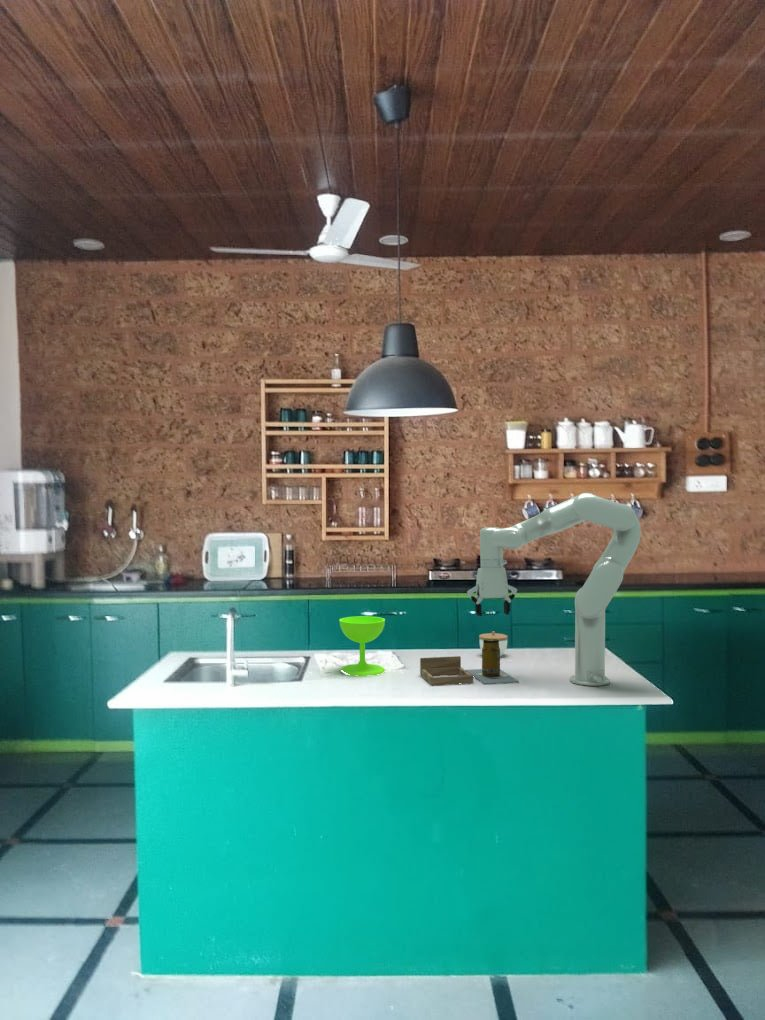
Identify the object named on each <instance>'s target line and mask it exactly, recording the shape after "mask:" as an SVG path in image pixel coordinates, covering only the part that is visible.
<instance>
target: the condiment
mask: <svg viewBox="0 0 765 1020" xmlns="http://www.w3.org/2000/svg"><path fill="white" fill-rule="evenodd" d="M481 654H482V655H481V669H482V673H479V674H478V675H481V676H487V677H491V678H501V677H505V676H509V675H510V674H508V675H506V674H500V669H501V657H500V648H499V640H498V639H484V641H483V648H482V651H481Z"/></svg>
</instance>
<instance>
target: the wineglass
mask: <svg viewBox="0 0 765 1020" xmlns="http://www.w3.org/2000/svg"><path fill="white" fill-rule="evenodd" d="M338 621H339V627H340V629H341V632H342V633H343V635H344V636H345V637H346V638H347V639H349V640H350V641H352V642H355V643H358V644H359V661H358V663H354V664H353V663H352V664H348V665H343V666H342V667H341V668H340V669H341V670H343V671H344V672H346V673H348V674H350V675H358V676H357V677H368V676H367V675H375V676H378V675H377V674H380V675H382V674H381V673H383V672H384V671H385V672H386V669H385V668H384V667H383V666H381V665H379V664H374V663H367V661H366V643H370V642H372V641H374V640H375V639H377V638H378V637H379V636H380V634H382V632H383V631H384V629H385V625H386V624H385V623H386V619H385V618H383V617H379V616H370V615H368V616H365V615H360V616H359V615H358V616H347V617H342V618H339V619H338ZM385 672H384V673H385ZM384 673H383V674H384Z"/></svg>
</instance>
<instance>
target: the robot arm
mask: <svg viewBox="0 0 765 1020" xmlns="http://www.w3.org/2000/svg"><path fill="white" fill-rule="evenodd" d="M585 521H587V522H590V523H593V524H595V525H598V526H602V527H606V528H608V529H612V530H613V533H612V537H611V539H610V541H609V542H608V544H607V545H606V548H605V550H604V552H602V554H601V556H600V557H599V559H598V560H597V561H596V563H595V564H594V566H593V568H592V571H591V572H590V573H589V576H588V577H587V579H586V580H585V582H584V584H583V586H582V587H580V588H579V589H578V590H577V591H576V594H575V597H574V607H575V611H574V615H575V617H574V619H575V621H574V622H575V623H574V625H575V626H574V631H575V634H574V674H573V675H571V676H570V678H569V681H570V682H572V683H574V684H576V685H581V686H589V687H590V686H592V687H595V686H606V685H608V684H610V683H611V682H610V681H611V680H610V678H609V677H607V676H606V670H605V669H606V609H607V608H608V605H609V603H611V600H612V599H613V598H614V596H615V595H616V593H617V591H618V589H619V588H620V586H621V584H622V582H623V580H624V573H625V570H626V568H627V567H628V565H629V563H630V562H631V560H632V558H633V557H634V554H635V553H636V552H637V549H638V547H639V544H640V541H641V537H642V531H641V530H642V529H641V523H640V520H639V518H638V515H636V512H635V510H634V509H633V508H632V507H631V506H630V505H628V504H625V503H621V502H617V501H613V500H610V499H608V498H604V497H601V496H598V495H595V494H593V493H591V492H582V493H580V494H577V495H576V496H574V497H573V496H572V497H571V498H569V499H567V500H565V501H562V502H560V503H558V504H556V505H553V506H551V507H549V508H546V509H545V510H543V511H541V512H540V513H538V514H536V515H535V516H532V517H530V518H527V519H526V520H524V521H521V522H519V523H516V524H514V525H512V526H509V527H505V528H504V527H503V528H501V527H495V526H490V527H487V526H486V527H482V528H481V529H480V530H479V547H480V548H479V549H480V554H479V555H480V567H479V568H478V569H477V573H476V582H475V586H473V587H472V588H470V589H468V590H467V591H466V593H467V594H468V595H467V596H468V597H469V598H470V600H471V601H472V602H473V603H474V607H475V609H474V610H475V611H474V612H475V614H476V615H477V617H482V603H481V602H482V601H483V599H498V598H499V599H500V598H501V599H503V600H504V602H503V614H504V615H506V616H509V615H510V612H511V602H512V601H513V599H515V597H516V594H517V592H518V588H517V587H514V586H512V585H510V584H509V583H508V575H507V572H506V568H505V567H504V566H505V565H507V564H508V560H506V559H504V549H505V550H518V549H521V547H523V546H525V545H528V544H529V543H532V542H533V541H536V540H539V539H541V538H543V537H546V536H551V535H555V534H557V533H560V532H562V531H565V530H567V529H568V528H572V527H573V526H576V525H578V524H581V523H583V522H585ZM509 591H511V593H510V594H509ZM474 593H476V597H475V596H474Z"/></svg>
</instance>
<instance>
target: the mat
mask: <svg viewBox="0 0 765 1020" xmlns="http://www.w3.org/2000/svg"><path fill="white" fill-rule="evenodd" d="M465 670H466V671H467V672H468V673H470V674H471V675H473V676H474V677H475V678H474V677H473V678H474V679H476V680H477V679H478V680H479V682H480V681H481V682H482V683H481V682H480V683H481V684H482V685H497V684H496V683H503V684H514V683H513V682H519V683H520V681H519V680H518V679H516V678H515V677H513V676H512V675H510V674H508V673H507V672H505V671H504V670H502V669H501V668H500V674H506V675H509V676H505V677H501V678H491V677H487V676H481V675H478V674H479V673H482V668H478V669H477V668H475V669H465ZM478 680H477V681H478ZM489 683H490V684H489Z"/></svg>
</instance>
